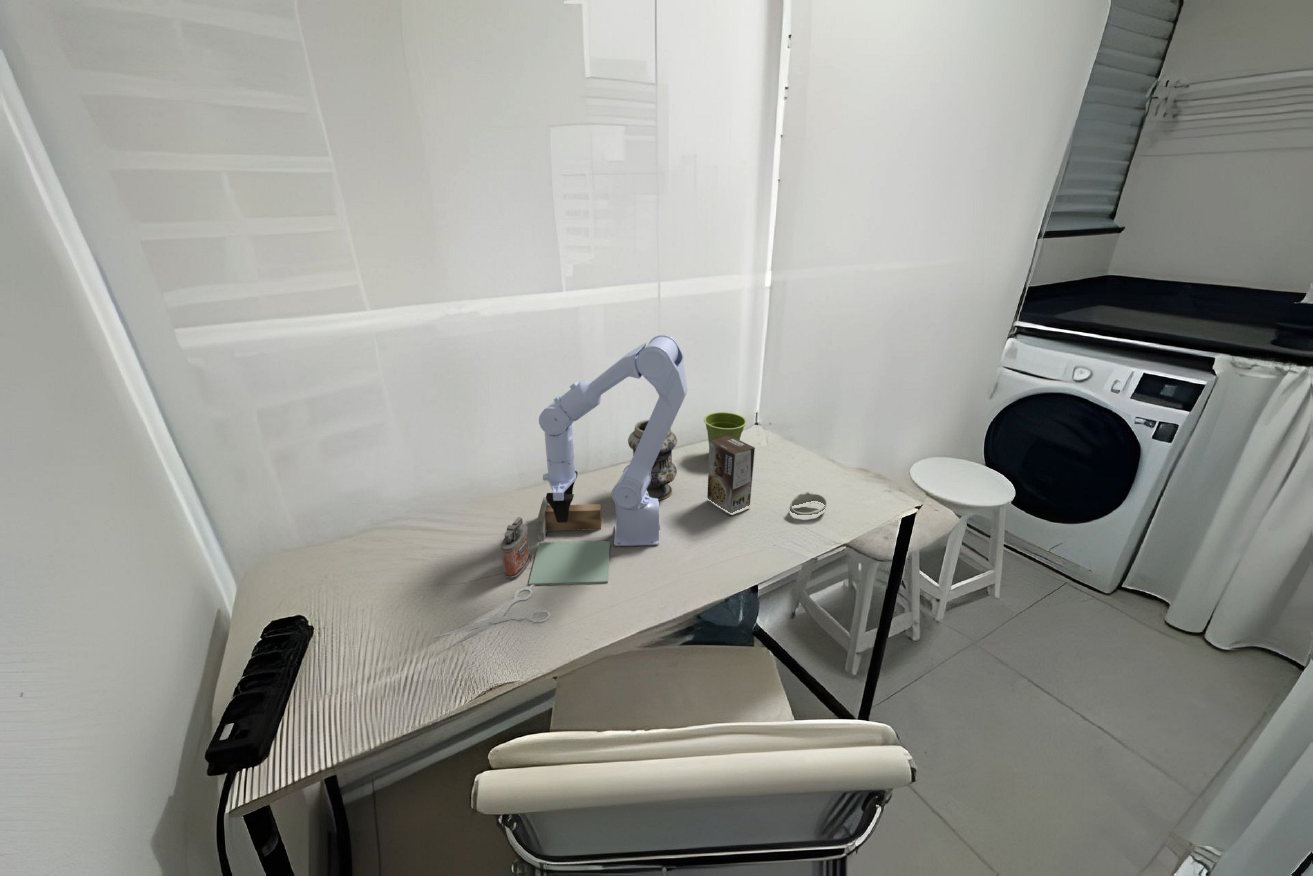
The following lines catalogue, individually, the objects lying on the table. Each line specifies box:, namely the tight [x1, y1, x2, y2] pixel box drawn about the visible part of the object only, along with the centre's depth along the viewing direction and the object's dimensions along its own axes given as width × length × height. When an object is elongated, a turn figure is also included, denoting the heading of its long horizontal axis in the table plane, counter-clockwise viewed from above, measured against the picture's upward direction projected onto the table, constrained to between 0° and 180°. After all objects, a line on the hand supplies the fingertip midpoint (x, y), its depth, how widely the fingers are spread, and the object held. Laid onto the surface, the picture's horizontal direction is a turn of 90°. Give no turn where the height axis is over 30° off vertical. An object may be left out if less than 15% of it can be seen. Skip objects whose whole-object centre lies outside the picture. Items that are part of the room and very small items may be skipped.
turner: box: [536, 496, 602, 541], centre depth 119 cm, size 13×10×5 cm
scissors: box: [435, 584, 552, 652], centre depth 93 cm, size 11×1×20 cm
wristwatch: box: [789, 491, 828, 515], centre depth 124 cm, size 9×6×5 cm
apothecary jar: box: [627, 419, 678, 501], centre depth 130 cm, size 12×12×18 cm
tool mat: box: [528, 540, 611, 586], centre depth 108 cm, size 15×13×1 cm
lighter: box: [500, 516, 532, 582], centre depth 104 cm, size 8×3×10 cm, turn 168°
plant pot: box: [703, 411, 748, 443], centre depth 150 cm, size 12×12×11 cm
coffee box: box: [706, 435, 756, 513], centre depth 125 cm, size 9×6×16 cm
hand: (564, 512), depth 118 cm, fingers open, 7 cm apart
